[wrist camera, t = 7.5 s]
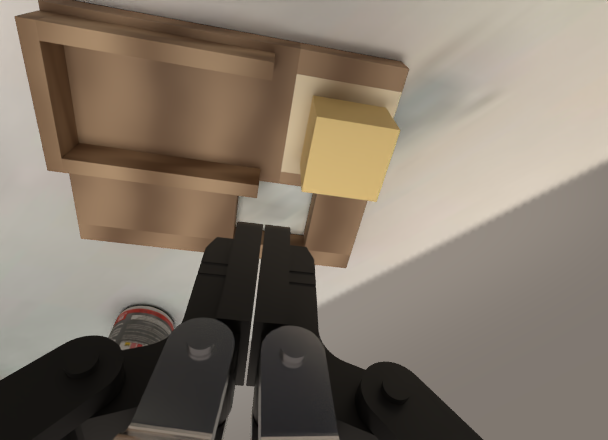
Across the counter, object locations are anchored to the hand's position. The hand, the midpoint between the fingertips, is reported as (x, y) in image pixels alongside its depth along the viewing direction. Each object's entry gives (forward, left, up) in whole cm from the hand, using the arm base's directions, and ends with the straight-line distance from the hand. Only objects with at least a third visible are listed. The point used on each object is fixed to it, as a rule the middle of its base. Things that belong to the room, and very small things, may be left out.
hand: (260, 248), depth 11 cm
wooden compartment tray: (+3, +6, -19) cm, 20 cm away
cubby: (+7, +2, -17) cm, 18 cm away
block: (-5, +3, -17) cm, 18 cm away
